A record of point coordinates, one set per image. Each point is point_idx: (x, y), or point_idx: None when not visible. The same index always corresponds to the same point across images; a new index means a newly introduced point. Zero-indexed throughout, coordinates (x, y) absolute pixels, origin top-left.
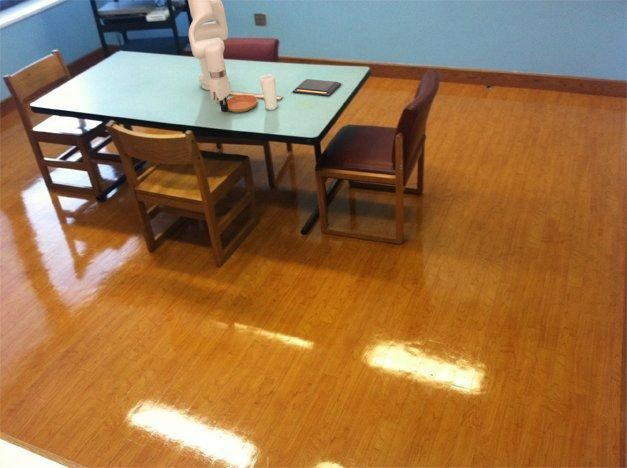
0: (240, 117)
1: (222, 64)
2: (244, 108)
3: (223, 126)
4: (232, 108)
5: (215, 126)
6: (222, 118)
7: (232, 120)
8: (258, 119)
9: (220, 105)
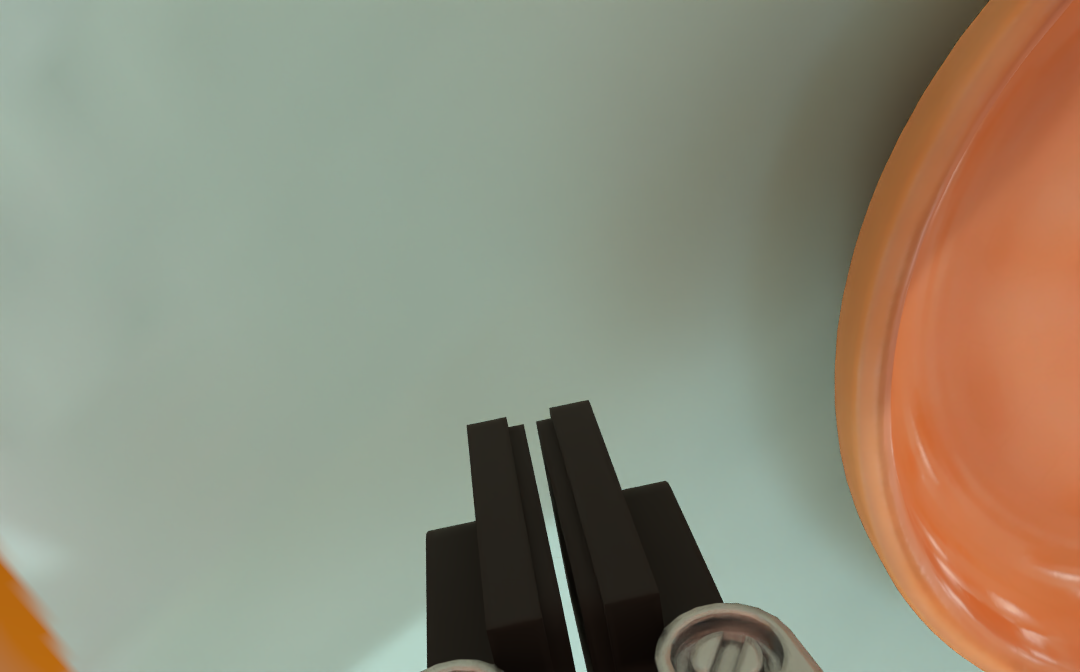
0: None
1: None
2: (971, 658)
3: (155, 596)
4: (862, 448)
5: (23, 432)
6: (482, 265)
7: None
8: None
9: (482, 584)
